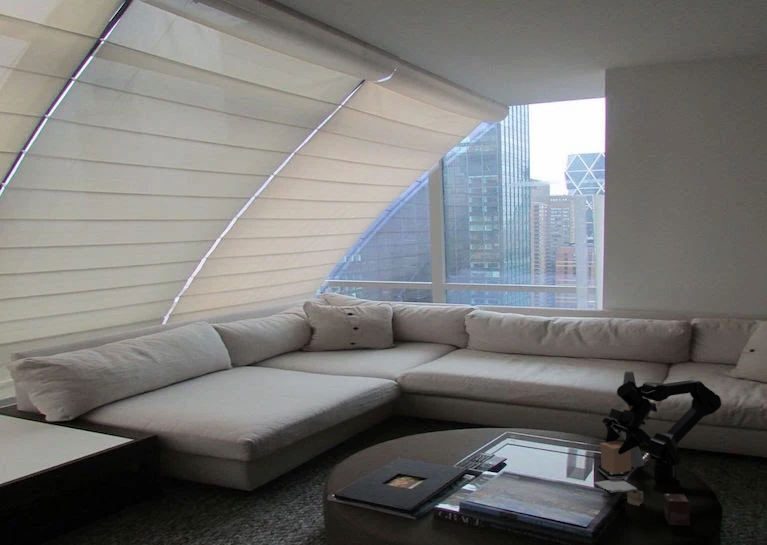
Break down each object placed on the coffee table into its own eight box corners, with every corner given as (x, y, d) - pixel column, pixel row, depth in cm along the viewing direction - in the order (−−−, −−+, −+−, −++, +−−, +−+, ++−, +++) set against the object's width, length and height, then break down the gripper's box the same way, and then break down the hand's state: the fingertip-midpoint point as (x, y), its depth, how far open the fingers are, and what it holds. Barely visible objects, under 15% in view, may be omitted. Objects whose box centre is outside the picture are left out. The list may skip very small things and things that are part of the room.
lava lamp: (629, 457, 254) (626, 367, 252) (650, 463, 246) (647, 371, 245) (614, 462, 249) (611, 371, 248) (634, 469, 242) (631, 374, 240)
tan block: (617, 464, 228) (616, 440, 227) (631, 470, 221) (630, 445, 221) (601, 467, 226) (600, 443, 225) (614, 473, 219) (613, 448, 219)
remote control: (613, 468, 243) (613, 463, 243) (627, 479, 230) (626, 473, 230) (596, 469, 243) (596, 464, 243) (609, 480, 230) (609, 474, 230)
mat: (619, 479, 232) (619, 478, 232) (637, 489, 222) (637, 488, 222) (594, 483, 229) (594, 482, 229) (611, 494, 220) (611, 492, 220)
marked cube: (632, 500, 214) (632, 488, 214) (643, 502, 212) (642, 491, 212) (627, 503, 212) (627, 492, 212) (638, 506, 209) (638, 494, 209)
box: (690, 526, 193) (689, 501, 193) (668, 525, 195) (667, 501, 194) (685, 517, 199) (684, 493, 199) (664, 516, 201) (663, 493, 200)
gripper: (605, 394, 232) (580, 429, 229) (642, 405, 215) (615, 444, 212) (624, 413, 235) (600, 448, 232) (662, 425, 218) (636, 464, 215)
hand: (612, 450), depth 223 cm, fingers closed on tan block, 7 cm apart
